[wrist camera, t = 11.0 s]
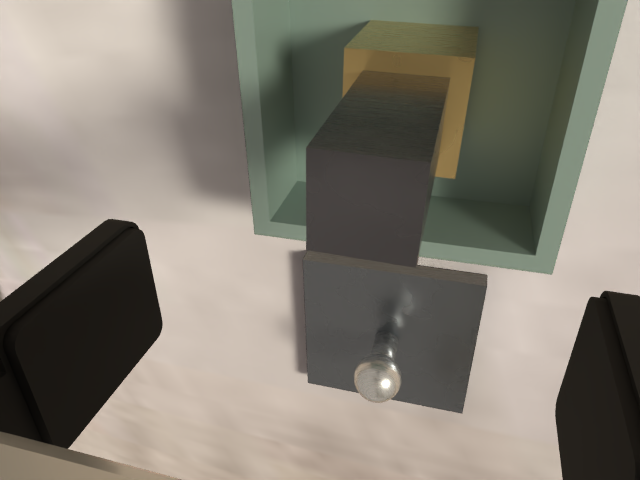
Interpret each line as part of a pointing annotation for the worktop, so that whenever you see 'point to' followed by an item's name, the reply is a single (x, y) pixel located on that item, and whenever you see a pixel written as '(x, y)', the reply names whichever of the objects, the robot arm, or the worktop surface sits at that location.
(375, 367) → the ball stud
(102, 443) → the worktop surface
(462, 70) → the strut
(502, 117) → the bin
